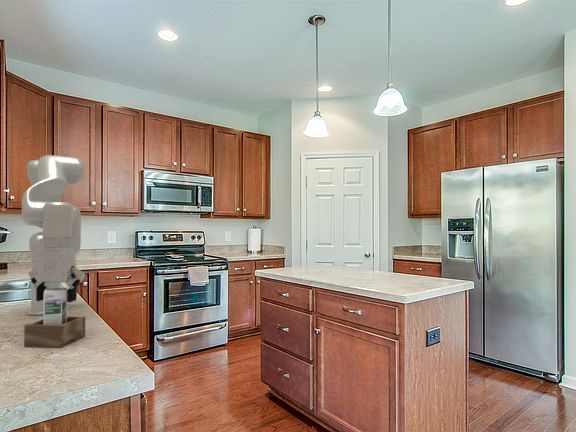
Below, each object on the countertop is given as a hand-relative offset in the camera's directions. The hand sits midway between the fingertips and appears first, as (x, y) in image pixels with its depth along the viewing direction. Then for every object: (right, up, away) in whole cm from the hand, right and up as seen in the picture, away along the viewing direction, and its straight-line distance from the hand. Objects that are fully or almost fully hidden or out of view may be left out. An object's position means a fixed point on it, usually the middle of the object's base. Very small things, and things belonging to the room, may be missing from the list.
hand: (56, 300), depth 110 cm
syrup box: (0, -11, 0) cm, 11 cm away
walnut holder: (0, -12, -1) cm, 12 cm away
